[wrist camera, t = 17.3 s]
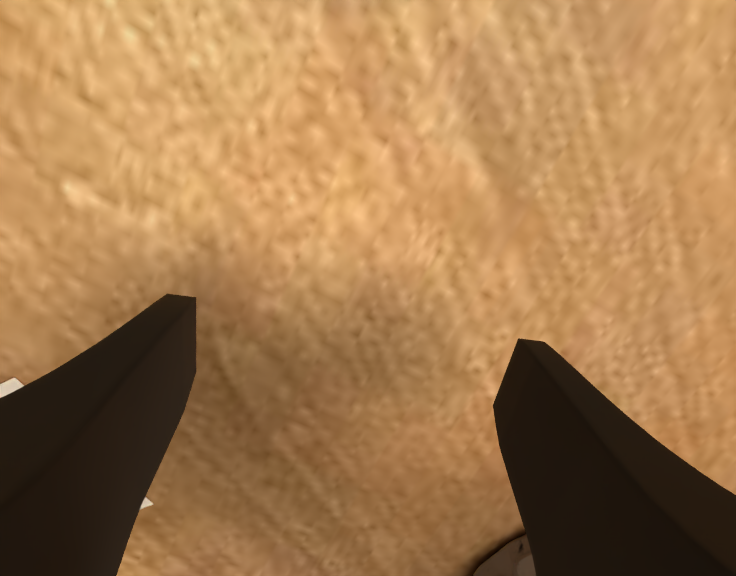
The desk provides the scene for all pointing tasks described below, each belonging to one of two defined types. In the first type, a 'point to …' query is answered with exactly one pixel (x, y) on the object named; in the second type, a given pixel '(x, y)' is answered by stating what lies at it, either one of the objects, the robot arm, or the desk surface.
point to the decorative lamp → (510, 560)
